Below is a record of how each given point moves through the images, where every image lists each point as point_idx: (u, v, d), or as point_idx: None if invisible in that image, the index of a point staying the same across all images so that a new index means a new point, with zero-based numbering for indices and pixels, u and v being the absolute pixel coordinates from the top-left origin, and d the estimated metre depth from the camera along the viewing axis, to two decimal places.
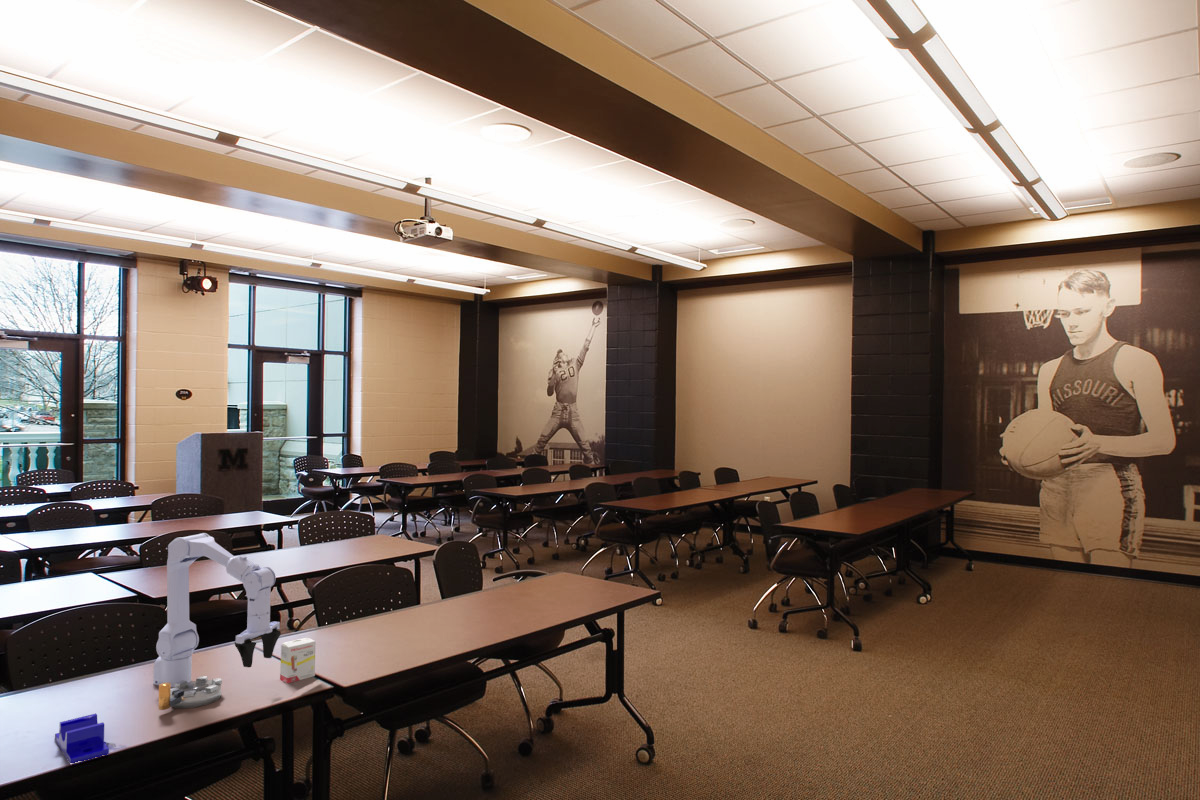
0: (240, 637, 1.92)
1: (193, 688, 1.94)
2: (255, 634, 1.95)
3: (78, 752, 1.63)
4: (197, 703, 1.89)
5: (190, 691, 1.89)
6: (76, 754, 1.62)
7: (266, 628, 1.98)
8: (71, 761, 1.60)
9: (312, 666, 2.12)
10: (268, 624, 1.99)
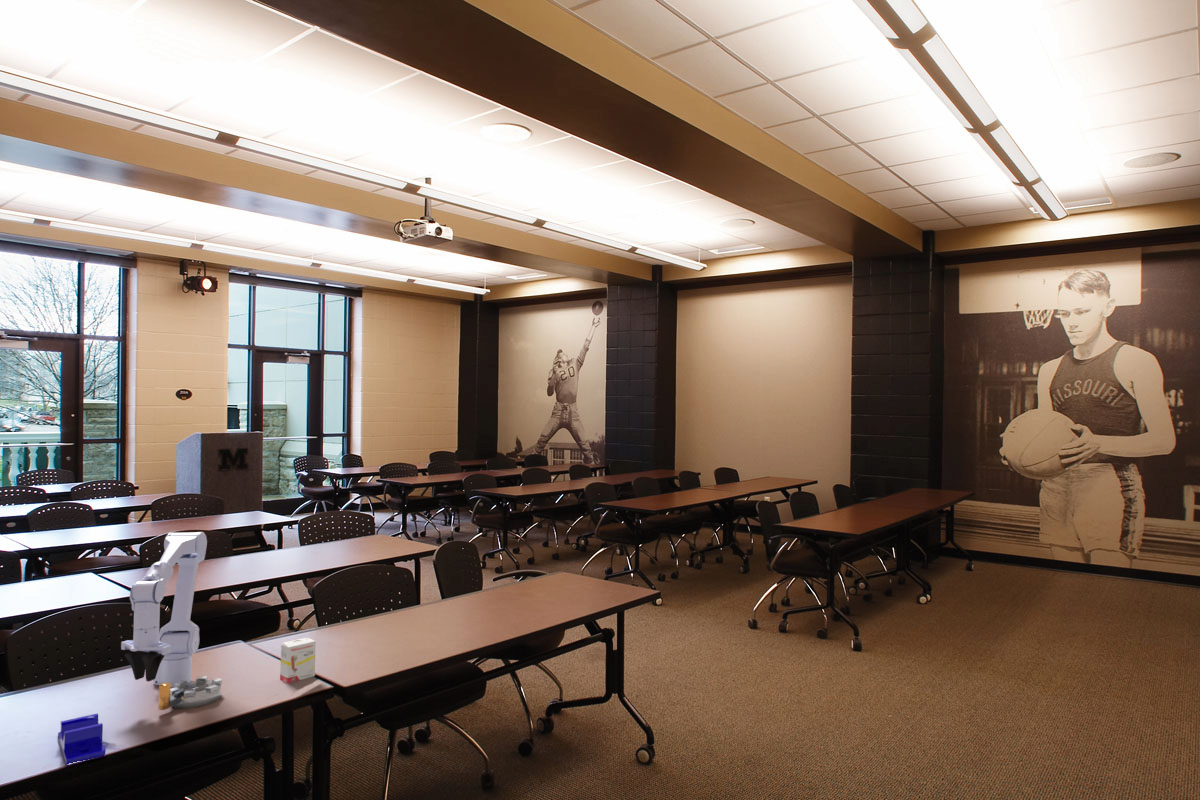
0: None
1: (193, 688, 1.94)
2: (129, 646, 1.86)
3: (75, 753, 1.63)
4: (197, 703, 1.89)
5: (190, 691, 1.89)
6: (72, 754, 1.62)
7: (135, 645, 1.84)
8: (67, 762, 1.60)
9: (312, 666, 2.12)
10: (138, 642, 1.84)
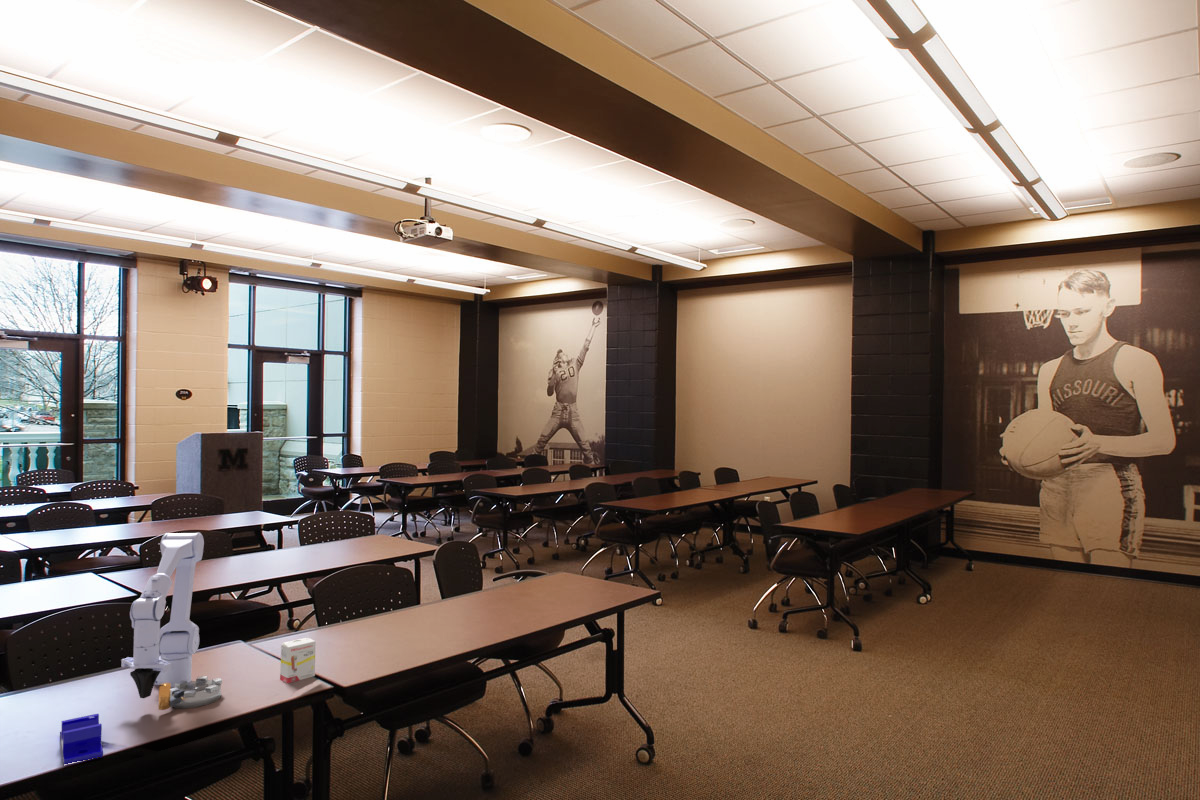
0: None
1: (193, 688, 1.94)
2: (129, 664, 1.86)
3: (74, 753, 1.63)
4: (197, 703, 1.89)
5: (190, 691, 1.89)
6: (70, 755, 1.62)
7: (135, 663, 1.84)
8: (64, 762, 1.60)
9: (312, 666, 2.12)
10: (139, 660, 1.84)
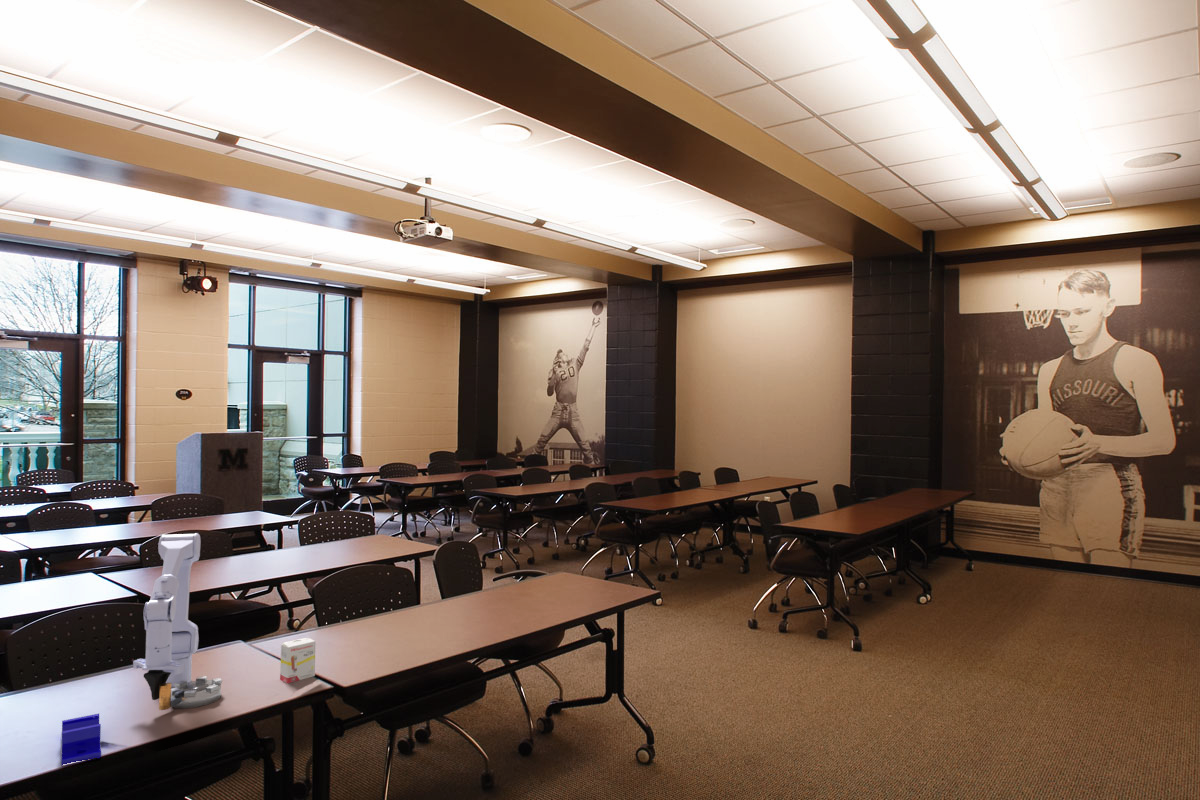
0: None
1: (193, 688, 1.93)
2: (141, 665, 1.85)
3: (72, 753, 1.63)
4: (198, 703, 1.89)
5: (190, 691, 1.90)
6: (69, 755, 1.62)
7: (148, 664, 1.83)
8: (62, 762, 1.60)
9: (312, 666, 2.12)
10: (151, 661, 1.83)
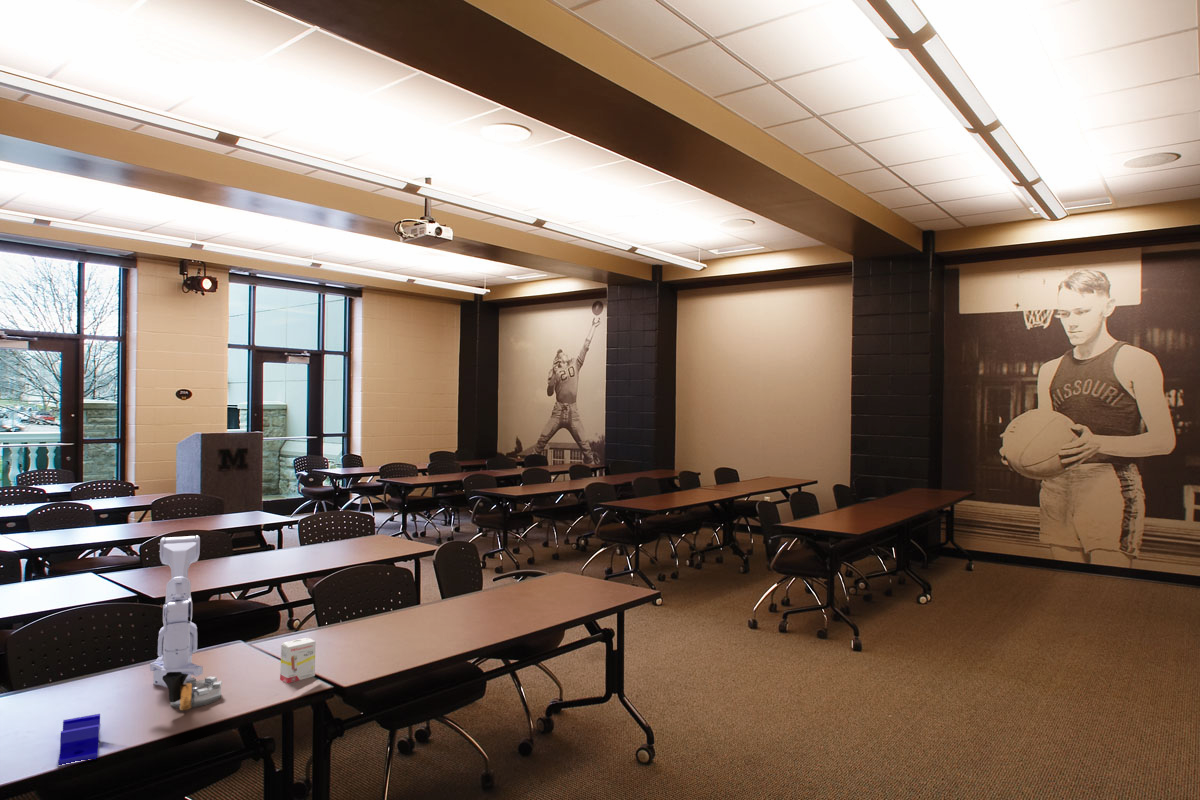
0: None
1: (195, 688, 1.94)
2: (159, 667, 1.83)
3: (69, 754, 1.62)
4: (211, 700, 1.92)
5: (202, 689, 1.91)
6: (66, 755, 1.62)
7: (166, 666, 1.82)
8: (59, 762, 1.59)
9: (312, 666, 2.12)
10: (170, 663, 1.82)
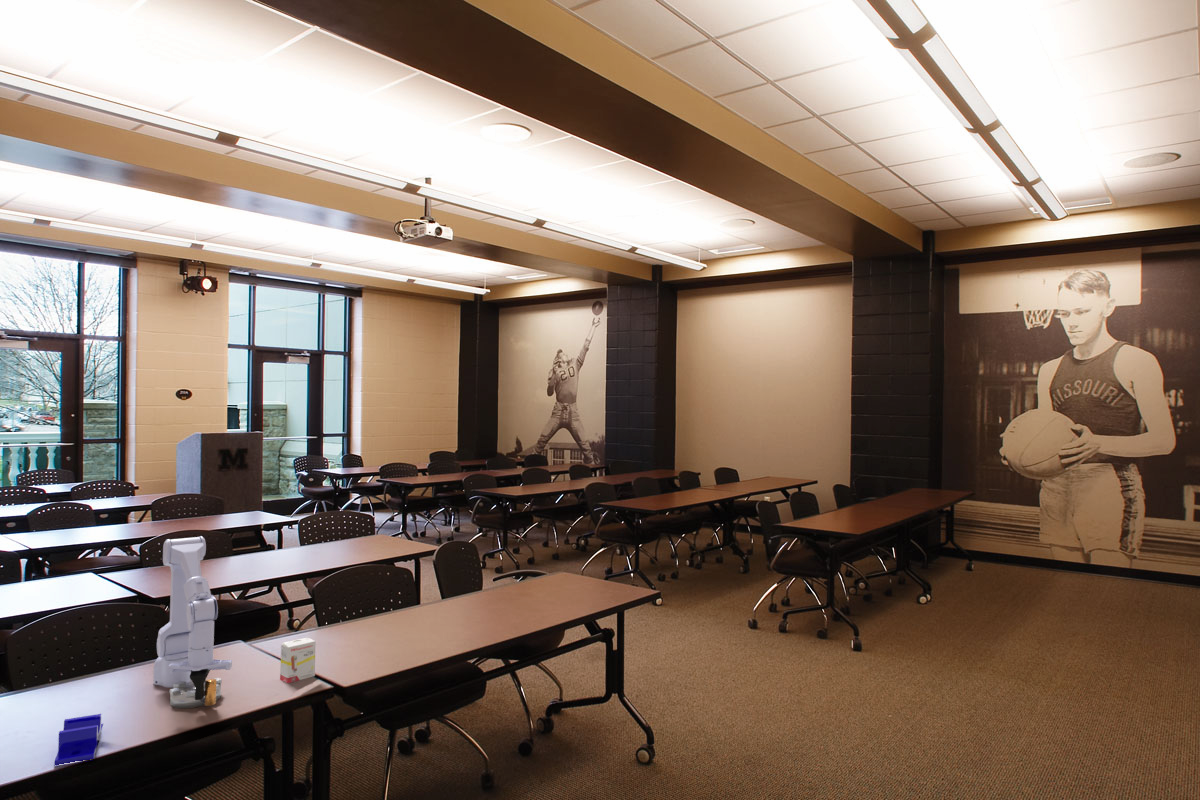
0: None
1: None
2: (183, 668, 1.84)
3: (67, 754, 1.62)
4: (219, 695, 1.95)
5: None
6: (63, 755, 1.62)
7: (196, 665, 1.84)
8: (55, 763, 1.59)
9: (312, 666, 2.12)
10: (200, 661, 1.84)
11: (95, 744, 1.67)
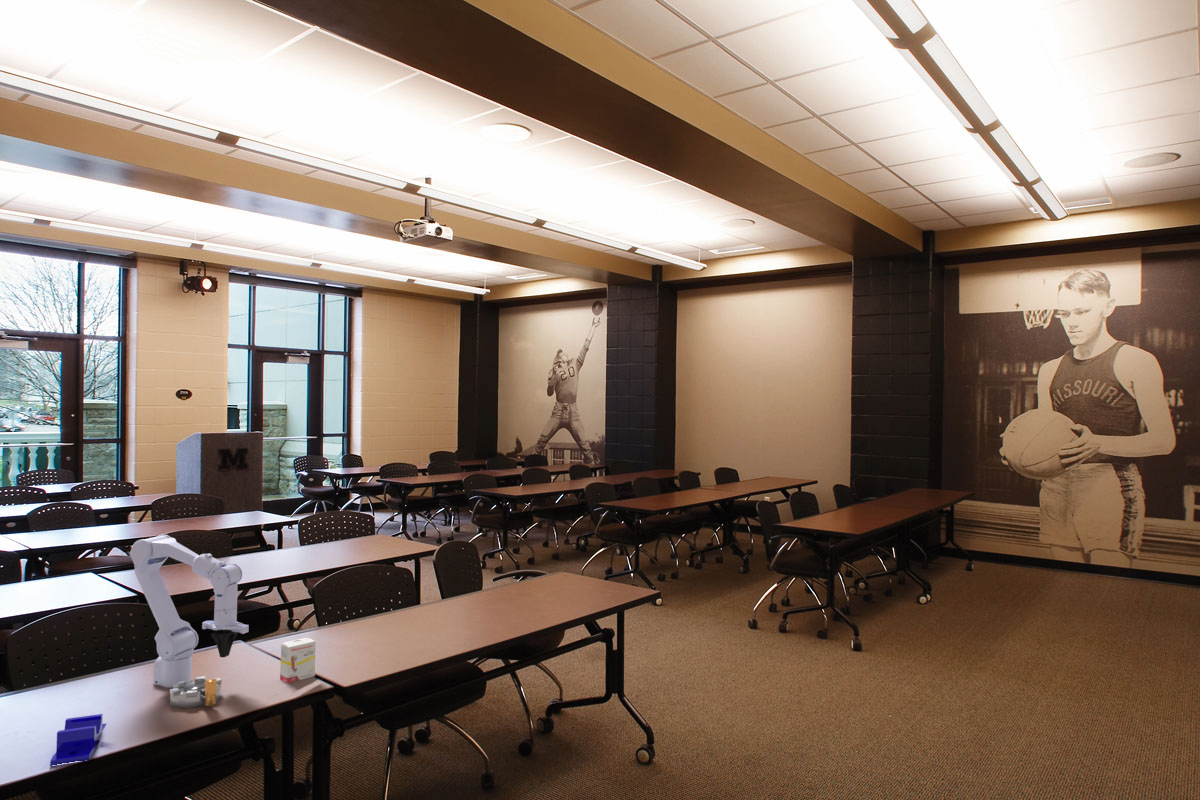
0: None
1: (197, 688, 1.94)
2: (210, 626, 2.03)
3: (63, 754, 1.62)
4: (219, 695, 1.95)
5: None
6: (59, 755, 1.61)
7: (216, 624, 2.01)
8: (51, 763, 1.59)
9: (312, 666, 2.12)
10: (219, 622, 2.01)
11: (93, 745, 1.66)
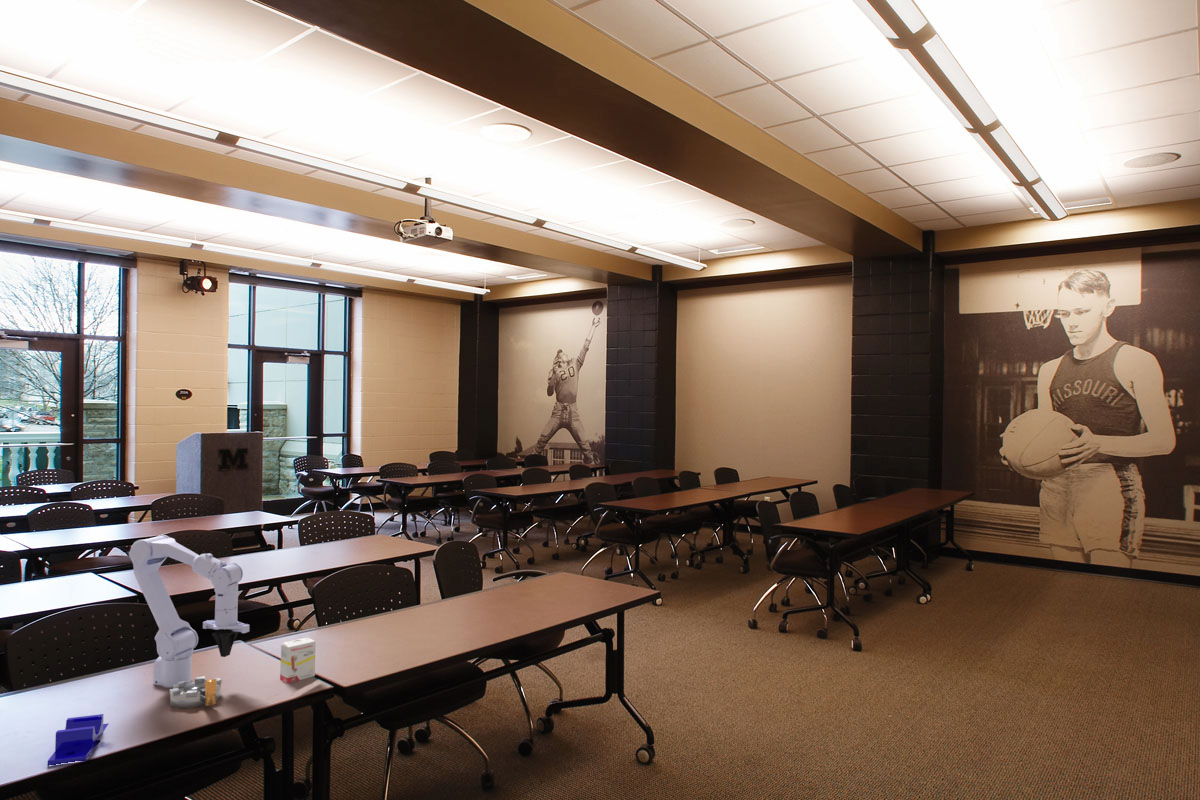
0: None
1: (197, 688, 1.94)
2: (210, 625, 2.03)
3: (61, 754, 1.62)
4: (219, 695, 1.95)
5: None
6: (57, 755, 1.61)
7: (217, 624, 2.02)
8: (48, 763, 1.59)
9: (312, 666, 2.12)
10: (220, 621, 2.02)
11: (91, 745, 1.66)
